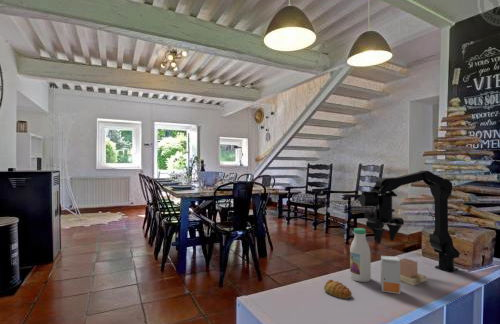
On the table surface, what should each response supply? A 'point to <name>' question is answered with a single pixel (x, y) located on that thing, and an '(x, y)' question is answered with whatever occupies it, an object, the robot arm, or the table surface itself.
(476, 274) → the table surface
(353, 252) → the milk bottle
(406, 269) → the cube
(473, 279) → the table surface
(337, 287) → the pastry
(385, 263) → the skincare box
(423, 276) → the plinth
